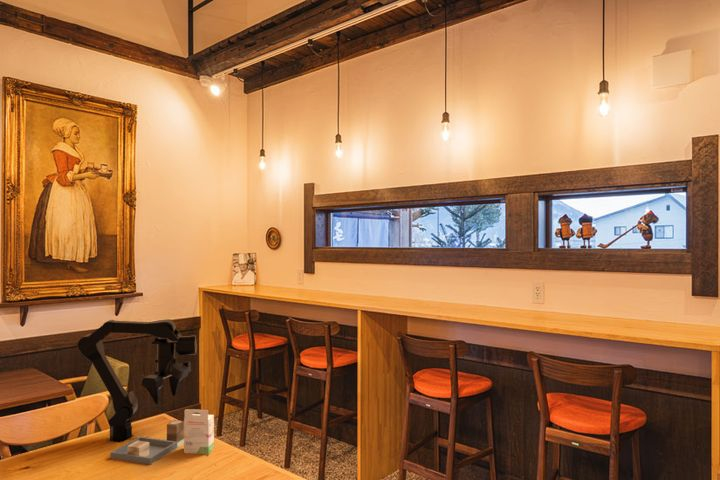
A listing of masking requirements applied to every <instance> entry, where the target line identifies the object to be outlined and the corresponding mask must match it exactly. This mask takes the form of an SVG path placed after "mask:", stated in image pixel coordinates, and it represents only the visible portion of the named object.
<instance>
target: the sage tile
mask: <svg viewBox="0 0 720 480" xmlns="http://www.w3.org/2000/svg"><path fill="white" fill-rule="evenodd" d="M162 440H167V436H166V437H165V438H163V439H162ZM182 445H184V439H183V440H181V441H179V442H178V443H177V448H180V447H181V446H182Z"/></svg>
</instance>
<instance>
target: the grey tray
mask: <svg viewBox="0 0 720 480" xmlns="http://www.w3.org/2000/svg"><path fill="white" fill-rule="evenodd" d="M136 441H145V442H149V455H148V456H146V457H144V456H138V455H132V454H127V446H128V445H130V444H132V443H134V442H136ZM177 448H178V447H177V442H175V441H168V440H163V439H160V438H152V437H146V436H137V437H136V438H135V439H133V440H131V441H129V442H127V443H124V445H122V446H120V447H118V448H116V449H114V450H112V451H110V459H112V460H116V461H124V462H131V463H135V464H142V465H149V466H151V465H152V464H154V463H156V462H157V461H159V460H161V459H162V458H164V457H165V456H167V455H168V454H170V453H171V452H173V451H174V450H176V449H177Z"/></svg>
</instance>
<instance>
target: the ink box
mask: <svg viewBox="0 0 720 480" xmlns="http://www.w3.org/2000/svg"><path fill="white" fill-rule="evenodd" d="M214 417H215V415H214V414H209V410H208V409H187V408H186V409H184V419H183V421H184V444H183V453H184V454H199V455H200V454H201V455H203V454H204V455H207V456H210V454H211V453H212V451H213V450H214V449H215V418H214Z"/></svg>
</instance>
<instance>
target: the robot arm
mask: <svg viewBox="0 0 720 480" xmlns="http://www.w3.org/2000/svg"><path fill="white" fill-rule="evenodd" d="M176 326H177V325H176V323H175V322H174V321H173V320H172V319H167V318H165V319H159V320H154V321H134V320H133V321H131V320H130V321H129V320H128V321H127V320H114V319H109V320H107V321H105V322H104V323H103V324H102V325H101V326H99V328H98V329H96V330H95V331H93V332H91V333H88V334H86V335H85V336H82V337H81V338H80V339H79V340H78V342H77V345H76V347H77V350H78V351H79V353H81V355H83V357H84V358H85V359H86V360H88V361H89V362H90V363H92V365H93V366H94V367H93V368H95V370H96V372H97V374H98V375H99V378H100V379H101V381H102V383H103V384H104V387H105V388H106V390H107V392H108V393H109V395H110V396H111V400H112V408H113V411H114V413H113V415H111V417H110V418H109V420H107V423H108V425H109V438H108V439H106V441H108V442H114V443H123V442H125V441H127V440H131V439H132V438H133V437H134V436H135V434H133V426H132V420H130V419H131V418H132V416H133V415H134V413H135V412H136V411H137V410H138V405H139V403H138V401H139V399H138V398H137V397H136V396H135V393H134V391H133V390H131V391H130V392H128V391H127V390H125V388H124V387H123V385H122V382H121V381H120V379H119V377H118V375H117V374H116V372H115V370H114V369H113V368H114V367H112V365H111V363H110V361H109V359H108V358H107V356H106V354H105V346H104V342H103V340H104V339H106V338H107V337H108V336H109V335H110V334H111V333H115V334H117V333H118V334H142V335H143V334H144V335H149V336H152V337H155V338H154V339H153V340H152V341H151V342H150V343H151V345H157V352H156V353H157V356H156V358H154V363H156V364H157V365H156V367H157V368H156V370H155V371H154V374H155V375H154V374H149V375H146V376H144V377H142V378H141V380H140V386H141V387H143V388H146V390H147V391H148V393H149V395H150V396H151V398H152V400H153V402H154V404H155V405H159V403H160V396H161V395H160V394H161V388H163V387H164V384H163V383H164V380H165V379H167V378H168V382H169V385H170V386H169V387H170V392H171V396H172V397H173V396H175V397H176V396H177V394H178V393H177V392H178V390H179V386H180V384H181V381H182V380H183V379H184V378H187V377H188V374H190V372H192V363H191V362H190V361H185V362H181V363H180V362H179V359H178V357H175V356H176V355H175V354H177V355H179V356H188V355H189V356H193V355H194V356H195V355H197V351H198V350H197V349H198V343H197V335H194V334H193V335H184V336H183V335H182V334H181V333H180V332H179V330H178V329H177V327H176ZM175 352H176V353H175Z"/></svg>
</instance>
